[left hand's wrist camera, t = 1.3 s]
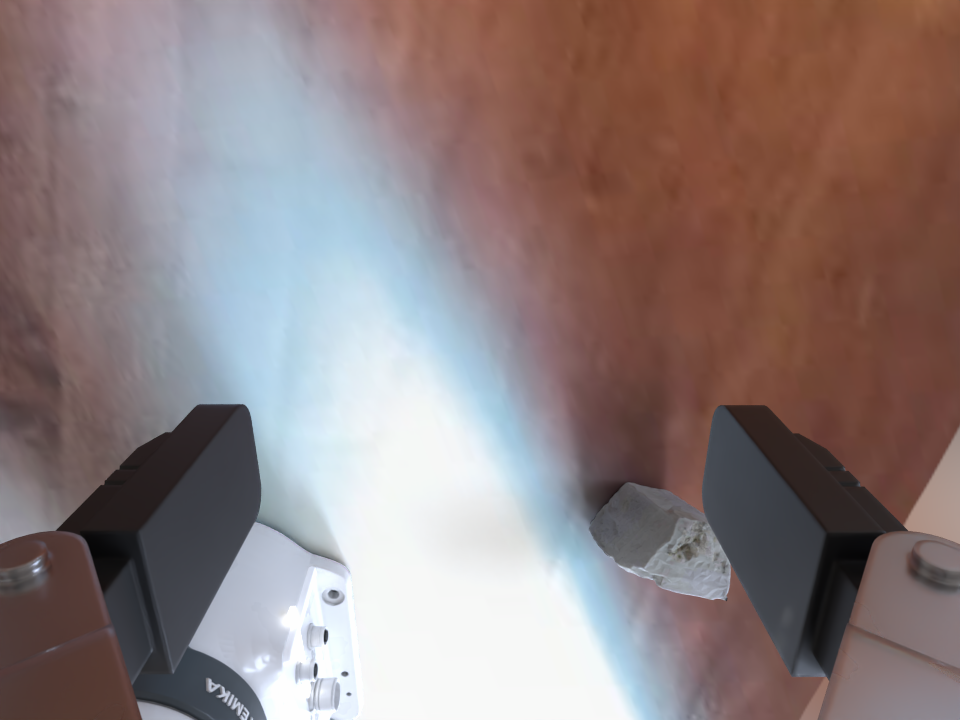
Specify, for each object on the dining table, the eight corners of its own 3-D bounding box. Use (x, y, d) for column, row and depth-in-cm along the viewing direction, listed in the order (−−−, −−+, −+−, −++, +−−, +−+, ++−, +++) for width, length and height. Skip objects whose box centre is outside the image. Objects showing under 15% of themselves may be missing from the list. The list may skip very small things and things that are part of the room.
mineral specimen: (703, 559, 47) (716, 643, 40) (587, 527, 48) (578, 602, 41) (736, 476, 44) (756, 550, 37) (611, 443, 45) (607, 509, 38)
